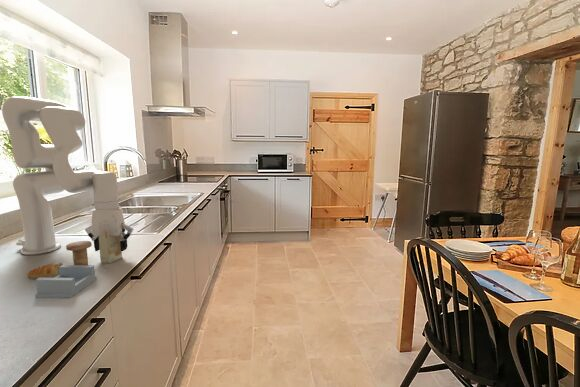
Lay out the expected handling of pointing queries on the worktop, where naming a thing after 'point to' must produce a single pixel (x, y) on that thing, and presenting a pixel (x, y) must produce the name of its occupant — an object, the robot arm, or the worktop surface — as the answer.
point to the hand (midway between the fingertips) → (111, 249)
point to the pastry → (45, 271)
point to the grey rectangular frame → (66, 282)
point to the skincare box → (109, 248)
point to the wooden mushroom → (79, 251)
